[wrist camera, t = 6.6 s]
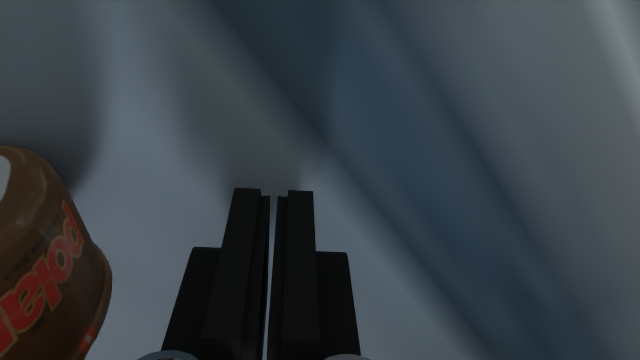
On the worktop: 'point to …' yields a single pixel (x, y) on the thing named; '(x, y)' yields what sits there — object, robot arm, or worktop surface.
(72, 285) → the tin
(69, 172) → the worktop surface
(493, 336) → the worktop surface
